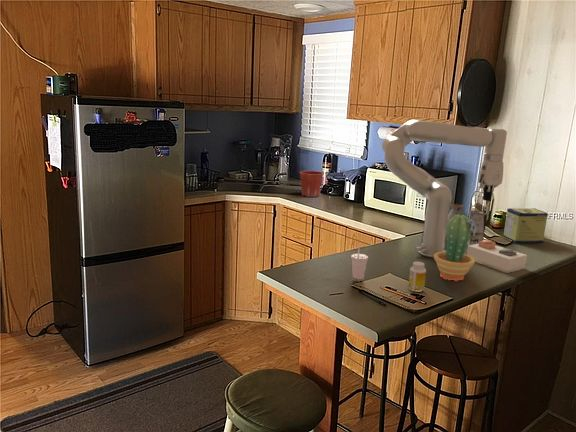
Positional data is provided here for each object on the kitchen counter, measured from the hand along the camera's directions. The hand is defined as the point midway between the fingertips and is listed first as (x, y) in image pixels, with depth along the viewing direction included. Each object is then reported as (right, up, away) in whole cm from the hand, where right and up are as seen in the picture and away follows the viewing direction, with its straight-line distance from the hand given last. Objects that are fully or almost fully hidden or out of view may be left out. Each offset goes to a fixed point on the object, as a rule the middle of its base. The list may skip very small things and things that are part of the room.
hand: (486, 200), depth 212 cm
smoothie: (-60, -31, -28) cm, 74 cm away
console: (+2, -27, -4) cm, 28 cm away
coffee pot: (+2, -15, +47) cm, 49 cm away
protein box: (+32, -19, +33) cm, 50 cm away
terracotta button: (-1, -24, 0) cm, 24 cm away
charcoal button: (+5, -27, -8) cm, 28 cm away
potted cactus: (-22, -31, -21) cm, 43 cm away
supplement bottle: (-40, -34, -35) cm, 63 cm away
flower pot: (-71, +7, +124) cm, 143 cm away
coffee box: (+3, -21, +22) cm, 31 cm away
